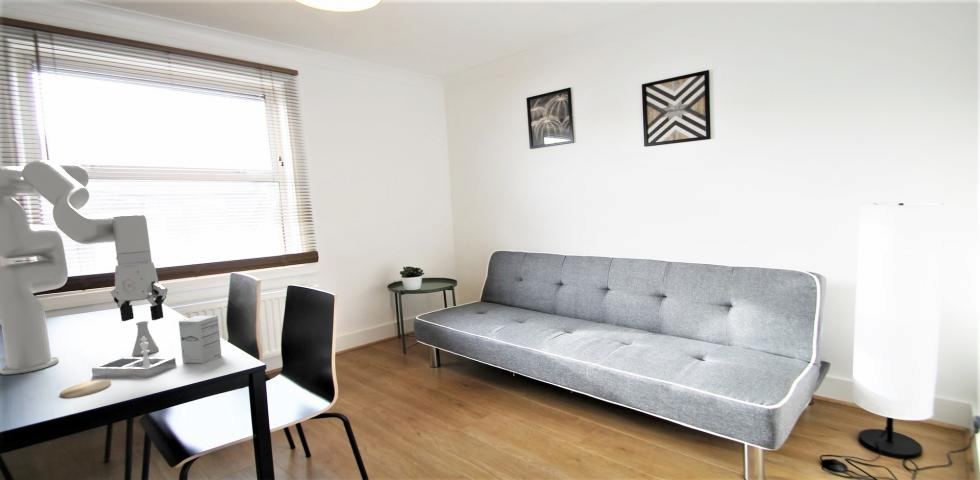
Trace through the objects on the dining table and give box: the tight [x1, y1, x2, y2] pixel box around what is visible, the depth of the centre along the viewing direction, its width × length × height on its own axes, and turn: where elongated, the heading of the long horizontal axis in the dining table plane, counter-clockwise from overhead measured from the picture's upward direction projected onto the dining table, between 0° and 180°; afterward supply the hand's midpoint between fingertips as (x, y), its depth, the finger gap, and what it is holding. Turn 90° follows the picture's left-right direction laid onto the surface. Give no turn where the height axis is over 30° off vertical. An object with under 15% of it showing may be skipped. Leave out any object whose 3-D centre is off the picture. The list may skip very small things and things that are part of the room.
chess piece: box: [140, 336, 152, 367], centre depth 133 cm, size 5×5×10 cm
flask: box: [131, 320, 160, 357], centre depth 151 cm, size 7×7×10 cm
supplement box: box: [178, 315, 222, 364], centre depth 141 cm, size 7×7×13 cm
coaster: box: [59, 379, 112, 399], centre depth 121 cm, size 10×10×1 cm
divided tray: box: [91, 356, 177, 378], centre depth 134 cm, size 18×9×2 cm, turn 80°
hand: (142, 319), depth 132 cm, fingers open, 9 cm apart
